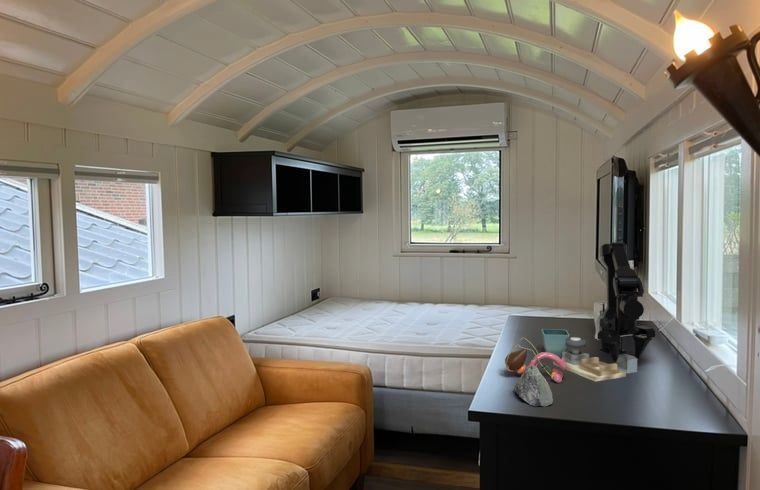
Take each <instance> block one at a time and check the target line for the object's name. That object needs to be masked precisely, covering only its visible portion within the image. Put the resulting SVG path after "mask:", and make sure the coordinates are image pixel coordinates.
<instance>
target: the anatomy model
mask: <svg viewBox="0 0 760 490" xmlns="http://www.w3.org/2000/svg"><path fill="white" fill-rule="evenodd" d="M523 339H524V340H526V341H527V342H528V343H529V344H530V345H531V346H532V347H533V349H534V350H535V351H534V350H533V349H531V348H528V347H523V346H521V345H520V343H519V342H520V341H522V340H523ZM517 347H518V348H520V350H515V349H516V348H517ZM514 350H515V351H514ZM527 351H532V354H534V357H532V359H531V361H530V362H529V363H528V365H526V364H525V363H526V359H527V355H528V353H527ZM535 352H536V353H535ZM544 360H549V361H552V363H553V362H555V363H556V364H557V365H559V367H558V368H560V369H561V370H563V371H565V369H566V368H567V364H566V362H565V360H564V358H560V357H558V356H557V355H555V354H553V353H549V352H546V351H542V352H538V350H537V348H536V347H535V346H534V344H533V343H532V342H531V341H530V340H528V339H527V338H525V336H524V337H521V338H520V339H518V341H517V342H515V344H514V345H513V347H512V349H511V351H510V352H509V353H508V354H507V355H506V357H505V359H504V363H505V365H506V369H507V370H508V371H509V372H516V373H517V374H519V375H521V376H522V375H523V373H524V371H525V369H526V368H528V367H530V366H532V365H534V366H536V367H537V368H538V365H540V367H539V368H538V370H539V371H541V372H540V373H541V374H543V373H544V372H546V373H547V374H548V375H549V376H550V377H551V378H550V379H552V380H553V381H554V382H556V384H560V383H562V381H563V377H564V375H563V372H562V371H561V370H560V369H557V368H556V367H555V368H552V369H551V368H550V366H548V365H547V364H546V363H545V362H544ZM541 362H542V363H541ZM549 371H550V372H551V374H550V372H549Z"/></svg>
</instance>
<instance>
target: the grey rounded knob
mask: <svg viewBox="0 0 760 490" xmlns="http://www.w3.org/2000/svg"><path fill="white" fill-rule="evenodd" d="M586 343H587V341H586V339H584V338H581V337H578V336H571V337H569V338H567V339H565V345H566V346H568V348H571V351H572V354H574V355H578V354H579V351H580V348H581V349H582V348H585V347H586V346H587V344H586Z"/></svg>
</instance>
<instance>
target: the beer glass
mask: <svg viewBox="0 0 760 490" xmlns="http://www.w3.org/2000/svg"><path fill="white" fill-rule="evenodd" d="M606 308H607V300H595V301H594V302H593V319H594V326H595V334H594V339H595V340H596V339H597V341H600V340H599V339H598V332H599V326H600V319H601V318H602V314H603V312H604V311H605V309H606Z"/></svg>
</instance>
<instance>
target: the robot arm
mask: <svg viewBox="0 0 760 490" xmlns="http://www.w3.org/2000/svg"><path fill="white" fill-rule="evenodd" d="M599 256H600V257H601V262H602V263H603V265H604V266H605V267H606V268H605V269H606V301H607V308H606V309H605V311H604V312H603V314H602V318H601V319H600V326H599V332H598V339H599V340H598V341H600V342H601V347H600V348H599V350H600V351H601V352H602V351H603V352H606V353H609V354H610V356H611V359H612V360H613V362H614V363H616V362H617V359H618V355H620V353H626V352H627V351H626V349H623V338H628V337H632V339H633V341H634V357H635V358H637V360H639V359H640V358H641V356H642V355H643V352H644V351H645V349H646V347H647V346H648V345H649V343H650V341H652V340H653V338H655V337H656V330H655V329H654V328H653V327H650V326H646V325H645V326H644V325H637V321H638V320H640V317H641V316H642V315H644V313H645V312H644V311H645V309H644V308H645V307H644V306H643V304H642V302H640V301H639V300H638V298H640V297H641V298H642V297H643V296H644V295H643V294H644V292H645V290H644V286H643V282H642V280H641V277H639V276H638V275H639V274H638V273H637V271H636V270H635V269H633V268H631V265H630V262H629V261H630V260H629V258H628V245H627V244H626V243H625V242H616V241H615V242H608V243H603V244H602V245H600V247H599Z"/></svg>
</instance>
